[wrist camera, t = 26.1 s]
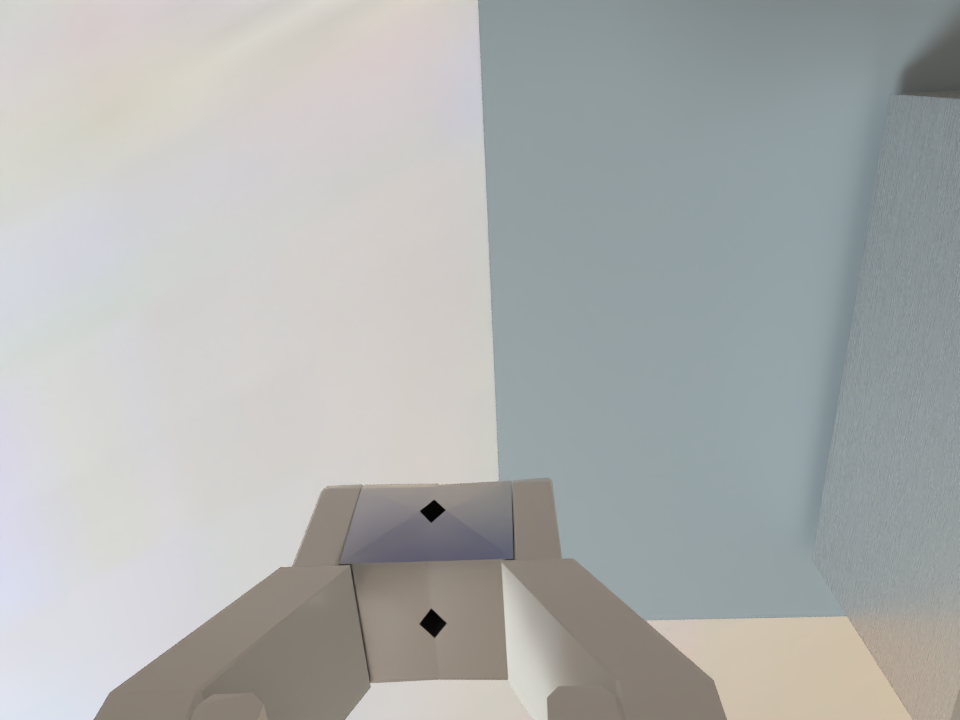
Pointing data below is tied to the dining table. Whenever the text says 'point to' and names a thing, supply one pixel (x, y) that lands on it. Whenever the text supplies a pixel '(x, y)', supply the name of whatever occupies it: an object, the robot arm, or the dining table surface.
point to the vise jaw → (903, 417)
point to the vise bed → (687, 272)
